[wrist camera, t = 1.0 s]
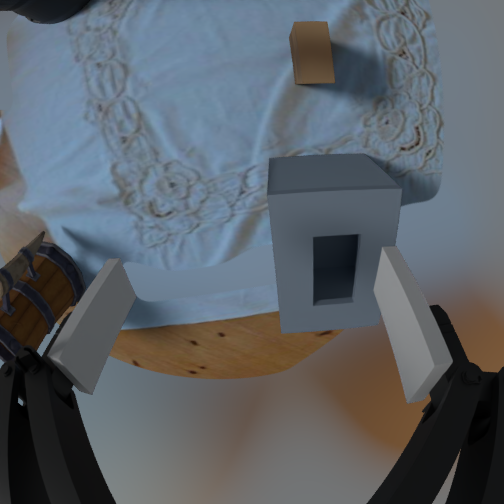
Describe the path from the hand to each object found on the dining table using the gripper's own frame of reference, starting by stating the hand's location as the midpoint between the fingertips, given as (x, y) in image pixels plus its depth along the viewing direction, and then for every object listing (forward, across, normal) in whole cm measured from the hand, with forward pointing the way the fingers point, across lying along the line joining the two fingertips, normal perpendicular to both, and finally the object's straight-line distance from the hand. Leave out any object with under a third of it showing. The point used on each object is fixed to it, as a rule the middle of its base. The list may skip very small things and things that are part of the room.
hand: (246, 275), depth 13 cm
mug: (+21, -39, -13) cm, 46 cm away
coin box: (+20, +7, -8) cm, 23 cm away
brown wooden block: (+21, +6, +11) cm, 24 cm away
